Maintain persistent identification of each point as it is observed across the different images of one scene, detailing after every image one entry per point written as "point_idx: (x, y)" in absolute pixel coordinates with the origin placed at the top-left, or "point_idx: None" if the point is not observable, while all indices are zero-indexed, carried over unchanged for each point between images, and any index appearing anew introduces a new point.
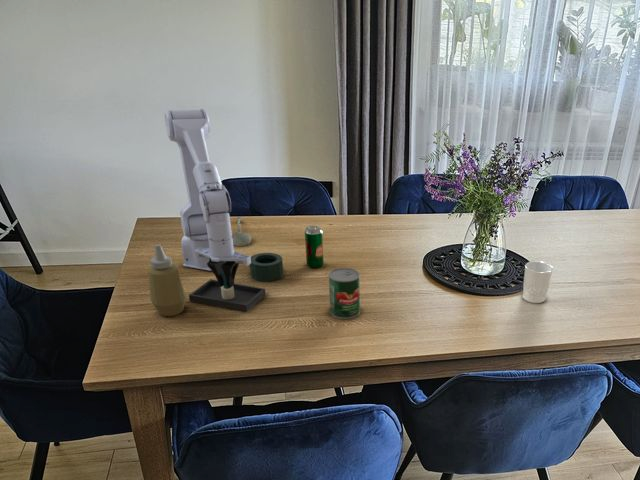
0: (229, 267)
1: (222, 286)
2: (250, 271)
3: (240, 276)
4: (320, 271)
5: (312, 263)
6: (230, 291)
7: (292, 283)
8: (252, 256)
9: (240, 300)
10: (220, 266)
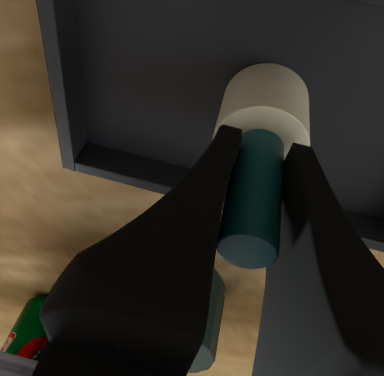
0: (59, 289)
1: None
2: (216, 295)
3: (263, 277)
4: (20, 281)
5: (39, 311)
6: (228, 107)
7: (45, 228)
8: (207, 364)
9: (170, 58)
10: (285, 328)
